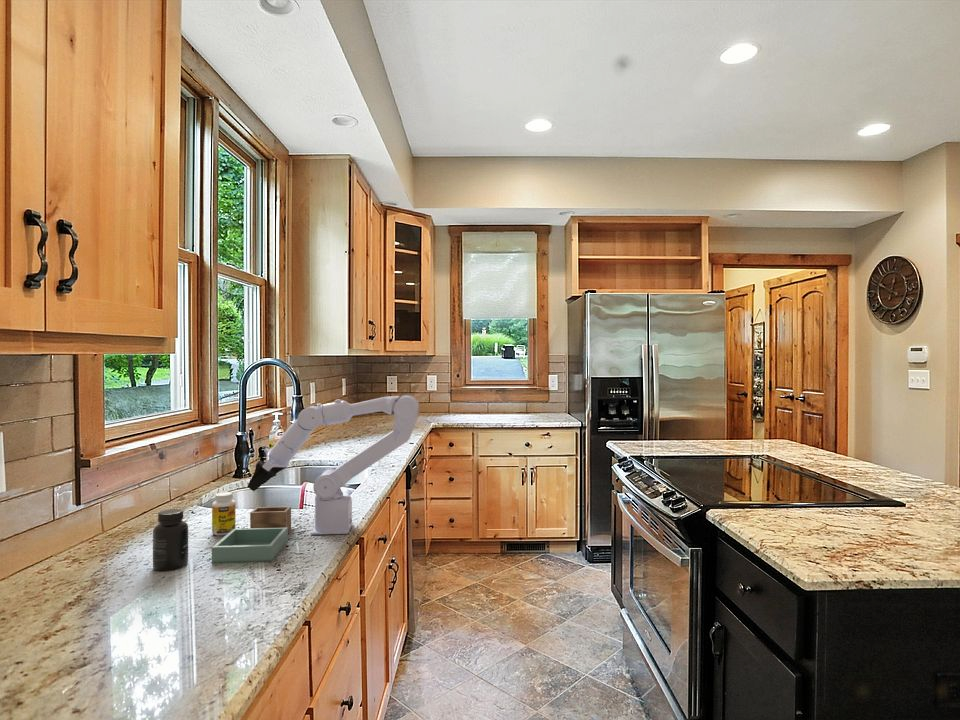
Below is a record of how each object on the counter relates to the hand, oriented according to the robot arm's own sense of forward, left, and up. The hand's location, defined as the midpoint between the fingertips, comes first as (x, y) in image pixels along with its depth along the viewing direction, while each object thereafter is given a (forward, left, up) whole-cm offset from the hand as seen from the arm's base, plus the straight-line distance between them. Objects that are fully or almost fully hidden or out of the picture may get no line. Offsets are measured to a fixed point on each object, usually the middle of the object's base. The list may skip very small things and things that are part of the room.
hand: (255, 485), depth 142 cm
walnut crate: (-4, 0, -12) cm, 13 cm away
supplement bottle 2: (+8, 0, -13) cm, 15 cm away
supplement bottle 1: (+11, +22, -13) cm, 28 cm away
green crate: (-4, +15, -13) cm, 20 cm away
